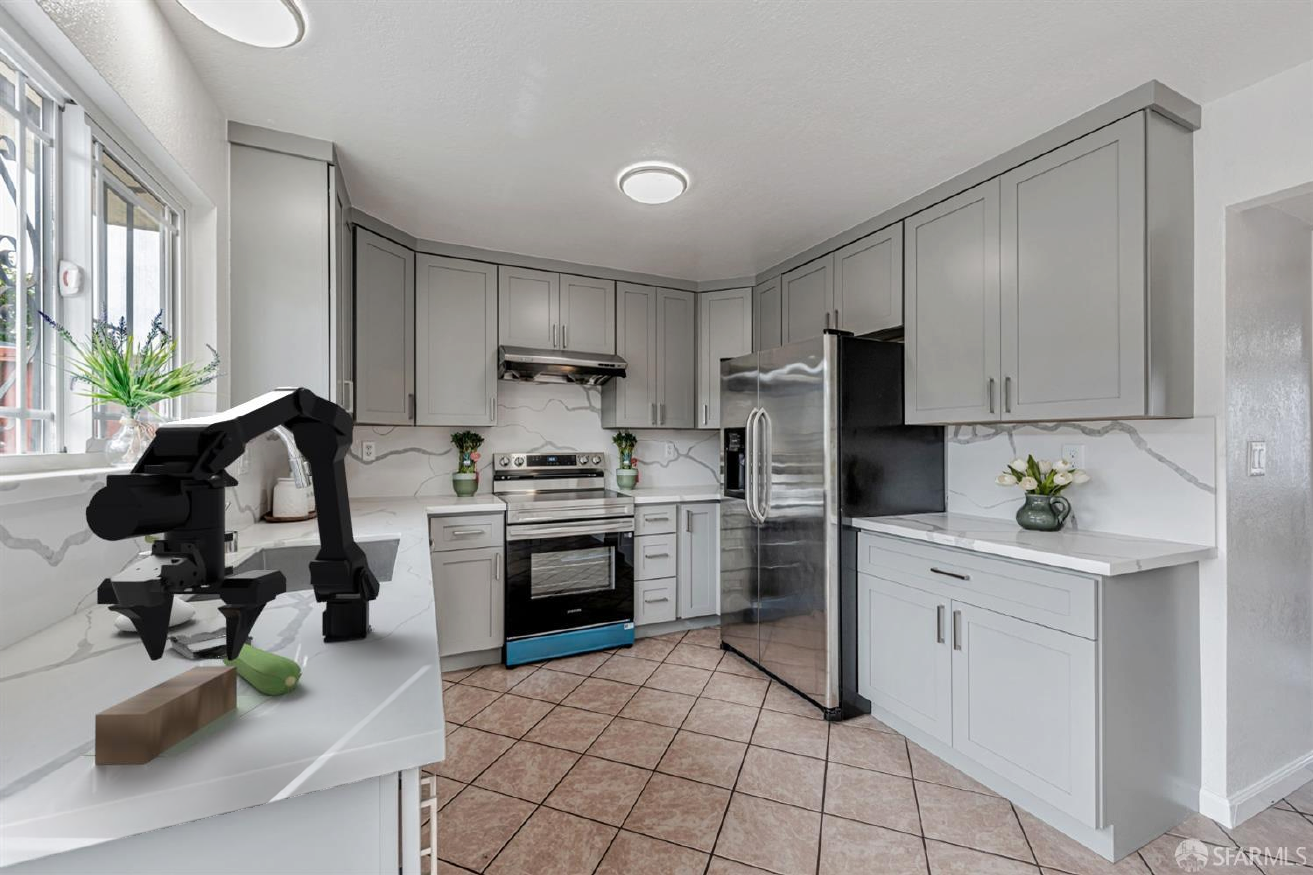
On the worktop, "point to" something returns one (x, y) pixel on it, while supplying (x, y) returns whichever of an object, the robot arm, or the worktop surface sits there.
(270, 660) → the green zucchini
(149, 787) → the worktop surface
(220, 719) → the sage board
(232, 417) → the robot arm
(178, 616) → the flower in vase
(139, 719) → the walnut post
